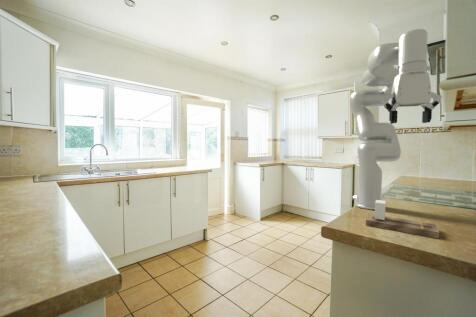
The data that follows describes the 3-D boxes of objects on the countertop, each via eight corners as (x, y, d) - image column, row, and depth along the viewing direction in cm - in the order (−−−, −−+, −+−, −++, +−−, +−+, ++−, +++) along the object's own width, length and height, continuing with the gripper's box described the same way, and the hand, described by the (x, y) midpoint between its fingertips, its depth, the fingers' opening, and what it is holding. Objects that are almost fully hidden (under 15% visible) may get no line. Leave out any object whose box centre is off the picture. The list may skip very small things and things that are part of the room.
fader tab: (374, 218, 81) (374, 202, 81) (375, 215, 85) (376, 199, 85) (384, 220, 79) (384, 203, 79) (385, 216, 83) (385, 200, 83)
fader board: (365, 225, 81) (366, 219, 81) (369, 218, 88) (369, 213, 88) (438, 238, 69) (439, 232, 69) (435, 230, 76) (435, 224, 76)
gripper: (433, 73, 75) (431, 123, 76) (377, 76, 78) (376, 124, 79) (450, 64, 68) (448, 120, 68) (387, 68, 71) (386, 122, 72)
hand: (409, 122), depth 74 cm, fingers open, 9 cm apart
